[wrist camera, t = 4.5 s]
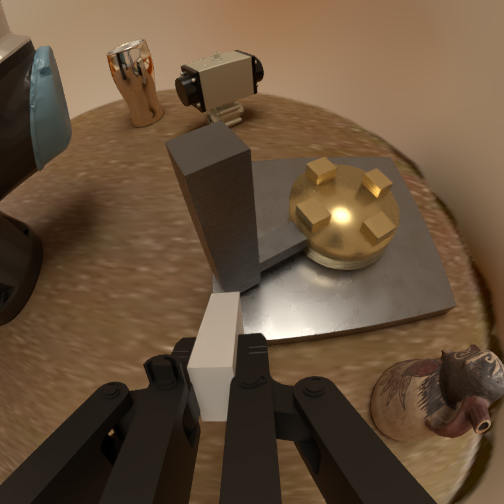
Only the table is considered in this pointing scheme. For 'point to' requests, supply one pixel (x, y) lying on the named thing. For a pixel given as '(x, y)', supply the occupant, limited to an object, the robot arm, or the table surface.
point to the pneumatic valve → (220, 84)
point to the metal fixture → (299, 215)
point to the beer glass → (136, 81)
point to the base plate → (341, 281)
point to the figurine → (438, 395)
